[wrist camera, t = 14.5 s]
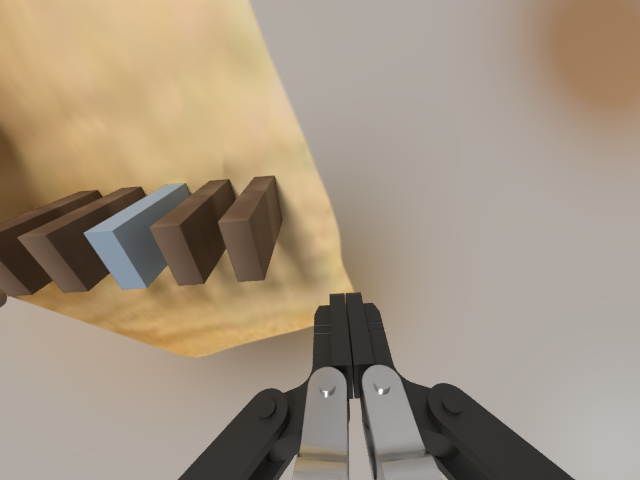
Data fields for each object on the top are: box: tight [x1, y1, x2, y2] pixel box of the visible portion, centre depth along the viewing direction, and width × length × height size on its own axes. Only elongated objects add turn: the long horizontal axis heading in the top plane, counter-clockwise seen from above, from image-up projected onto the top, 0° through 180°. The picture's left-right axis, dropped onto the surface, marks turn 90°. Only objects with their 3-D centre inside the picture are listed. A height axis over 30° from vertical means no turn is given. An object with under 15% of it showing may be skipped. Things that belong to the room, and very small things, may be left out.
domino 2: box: [17, 187, 146, 293], centre depth 22 cm, size 2×5×10 cm, turn 5°
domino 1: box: [0, 190, 102, 296], centre depth 22 cm, size 2×5×10 cm, turn 5°
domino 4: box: [149, 179, 235, 286], centre depth 21 cm, size 2×5×10 cm, turn 5°
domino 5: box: [218, 176, 282, 282], centre depth 21 cm, size 2×5×10 cm, turn 4°
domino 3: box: [84, 183, 190, 290], centre depth 22 cm, size 2×5×10 cm, turn 5°
